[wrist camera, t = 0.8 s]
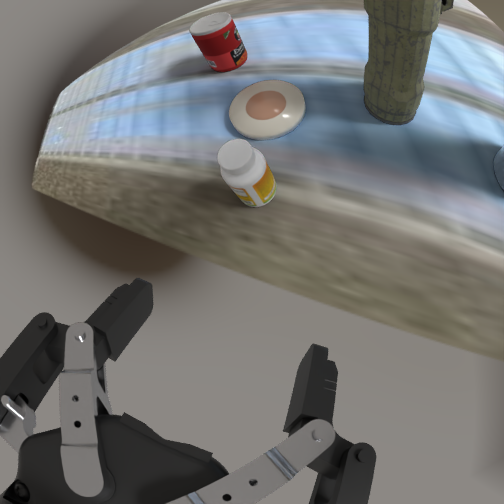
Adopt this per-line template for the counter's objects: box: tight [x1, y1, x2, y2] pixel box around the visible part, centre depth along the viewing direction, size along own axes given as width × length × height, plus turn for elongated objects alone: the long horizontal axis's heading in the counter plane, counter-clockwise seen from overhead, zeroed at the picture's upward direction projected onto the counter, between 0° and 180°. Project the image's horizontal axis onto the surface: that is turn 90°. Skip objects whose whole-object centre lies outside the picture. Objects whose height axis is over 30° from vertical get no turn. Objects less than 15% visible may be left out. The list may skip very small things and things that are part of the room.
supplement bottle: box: [217, 139, 277, 207], centre depth 32 cm, size 5×5×10 cm
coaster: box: [229, 80, 306, 140], centre depth 39 cm, size 12×12×2 cm
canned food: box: [189, 12, 247, 72], centre depth 40 cm, size 8×8×11 cm
